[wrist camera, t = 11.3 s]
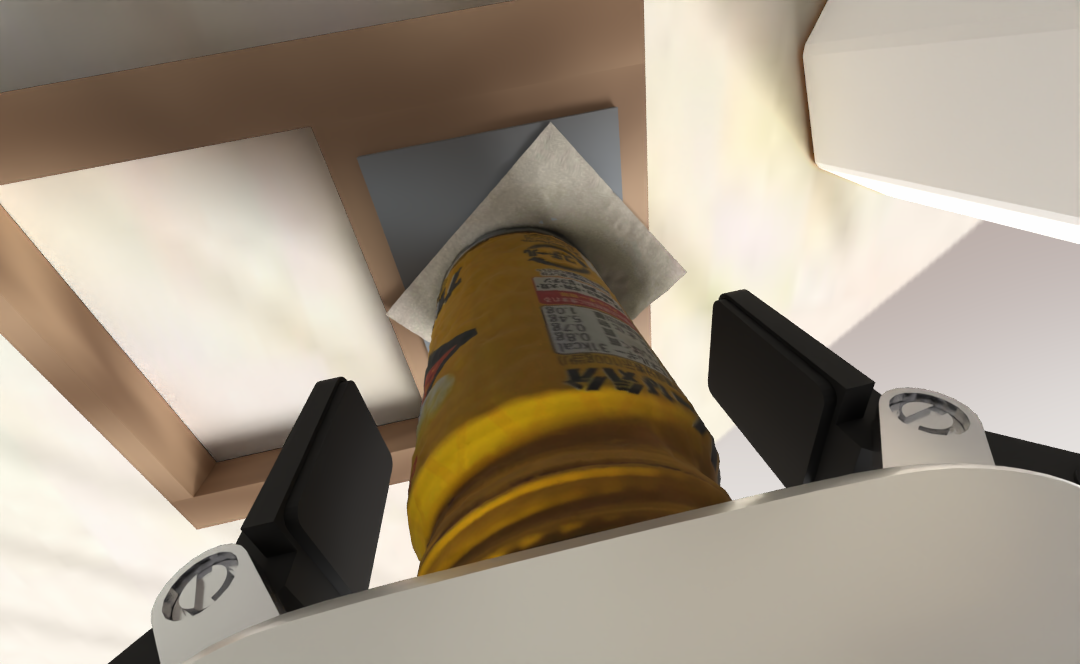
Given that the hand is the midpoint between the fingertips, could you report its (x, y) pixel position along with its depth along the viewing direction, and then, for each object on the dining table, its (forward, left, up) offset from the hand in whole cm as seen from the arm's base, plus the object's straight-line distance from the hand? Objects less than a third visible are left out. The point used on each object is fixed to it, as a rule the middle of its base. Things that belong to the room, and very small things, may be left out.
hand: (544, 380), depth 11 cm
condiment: (0, +1, -6) cm, 6 cm away
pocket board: (0, -6, -8) cm, 10 cm away
